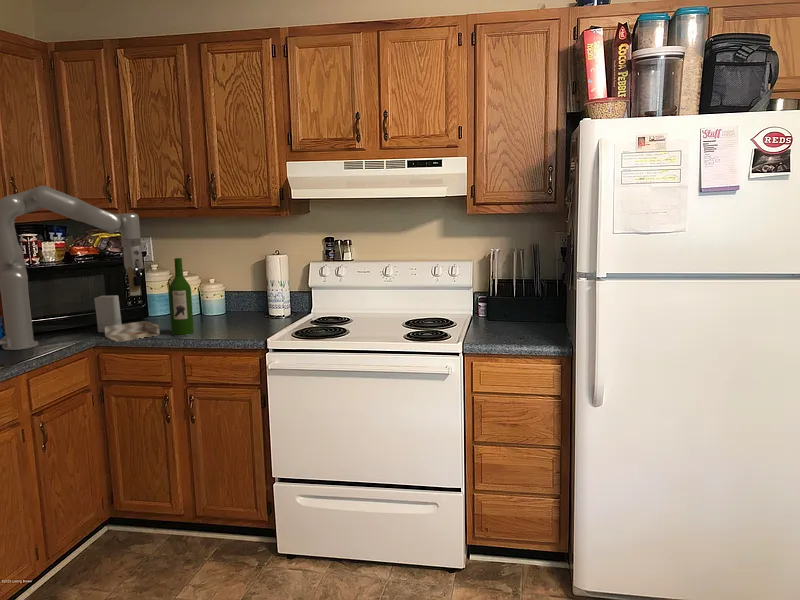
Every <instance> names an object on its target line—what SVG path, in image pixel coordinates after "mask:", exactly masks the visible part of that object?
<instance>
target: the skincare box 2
mask: <svg viewBox="0 0 800 600" xmlns="http://www.w3.org/2000/svg"><path fill="white" fill-rule="evenodd" d="M135 269H137V267H135ZM135 272H136V271H135ZM128 277H129V284H128V287H129V288H128V290H129V296H130V297H131V296H132V297H133V296H141V293H142V292H141V286H134V280H133V277H134V274H133V270H131V268H130V267H128Z"/></svg>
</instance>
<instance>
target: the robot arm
mask: <svg viewBox="0 0 800 600" xmlns="http://www.w3.org/2000/svg"><path fill="white" fill-rule="evenodd" d="M41 209H46V210H48V211H49V212H52V213H56V214H59V215H61V216H64V217H66V218H68V219H71V220H74V221H78V222H82V223H85V224H87V225H90V226H91V227H92V226H93V227H95V228H98V229H100V230H103V231H105V232H107V233H115V232H118V231H120V237H121V238H120V239H121V247H122V248H123V266H124V268H125V274H126V284H127V285H129V277H128V267H130V268H131V270H133V274H134V277H133V280H134V286H140V287H141V286H142V285H143V282H142V270H144V268H145V267H144V262H143V261H144V258H143V253H142V248H141V246H142V241H141V227H140V226H141V225H140V218H139V215H138V213H133V212H132V213H130V212H129V213H122V214H121V213H112V212H109V211H107V210H104V209H101V208H99V207H96V206H94V205H92V204H91V203H90V204H89V203H87V202H86V201H84V200H83V199H79V198H77V197H74V196H73V195H69V194H67V193H65V192H62V191H59V190H57V189H54V188H52V187H49V186H48V185H38V186H36V187H34V188H31V189H27V190H24V191H21V192H18V193H14V194H9V195H5V196H4V197H2V198H1V199H0V297H1V298H0V299H1V305H2V314H3V315H2V316H3V322H4V333H5V335H4V336H3V338H1V339H0V346H1V347H2V350H6V351H20V350H26V349H31V348H35V347H37V346H39V341H37V340H34V330H33V320H32V310H31V302H30V293H29V281H28V279H29V276H28V270H27V268H26V263H25V258H24V253H23V249H22V246H21V245H20V244H19V241H18V237H17V231H16V227H15V219H16V218H17V217H19V216H23V215H25V214H26V215H27V214H29V213H32V212H35V211H39V210H41ZM135 267H137V269H135ZM135 271H136V272H135Z"/></svg>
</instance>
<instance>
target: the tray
mask: <svg viewBox="0 0 800 600" xmlns="http://www.w3.org/2000/svg"><path fill="white" fill-rule="evenodd" d="M104 331H105V332H104V337H105V338H106V339H108V340H111V341H113V342H115V343H121V342H128V341H133V340H140V339H139V338H141V339H145V338H144V337H148V338H152V336H154V337H159V336H158V335H160V336H161V334H160V332H161V331H160V325H159V324H156V323H154V322H151V321H148V320H145V321H143V320H142V321H136V322H128V323H122V324H120V325H113V326H106V327H104Z"/></svg>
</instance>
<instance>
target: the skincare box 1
mask: <svg viewBox="0 0 800 600" xmlns="http://www.w3.org/2000/svg"><path fill="white" fill-rule="evenodd" d="M119 299H120V298H119V295H117V294H116V295H100V296H97V297H94V308H95V314H96V323H97V324H96V325H97V332H98V333H105V331H104V327H106V326H113V325H120V324H123V323H122V315H121V307H120V300H119Z"/></svg>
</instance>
